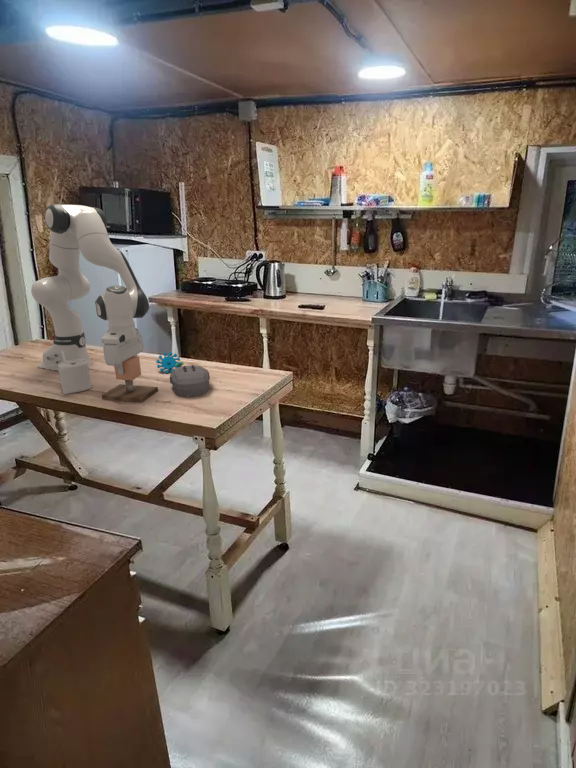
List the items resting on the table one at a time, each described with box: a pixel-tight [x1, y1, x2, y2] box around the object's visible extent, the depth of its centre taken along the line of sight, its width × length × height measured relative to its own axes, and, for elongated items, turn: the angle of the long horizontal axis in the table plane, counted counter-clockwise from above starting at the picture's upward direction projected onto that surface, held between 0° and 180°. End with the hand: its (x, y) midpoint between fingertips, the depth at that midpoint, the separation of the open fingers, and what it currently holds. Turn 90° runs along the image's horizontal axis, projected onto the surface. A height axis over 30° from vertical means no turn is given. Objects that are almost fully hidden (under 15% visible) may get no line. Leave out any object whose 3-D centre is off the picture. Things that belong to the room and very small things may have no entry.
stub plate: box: [101, 380, 159, 403], centre depth 181 cm, size 16×12×6 cm
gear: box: [155, 351, 184, 375], centre depth 209 cm, size 11×6×10 cm
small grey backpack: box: [169, 364, 211, 397], centre depth 186 cm, size 15×8×20 cm
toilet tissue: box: [58, 359, 93, 395], centre depth 188 cm, size 11×12×10 cm
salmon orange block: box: [113, 355, 142, 381], centre depth 179 cm, size 6×6×7 cm
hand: (127, 370), depth 179 cm, fingers closed on salmon orange block, 6 cm apart
